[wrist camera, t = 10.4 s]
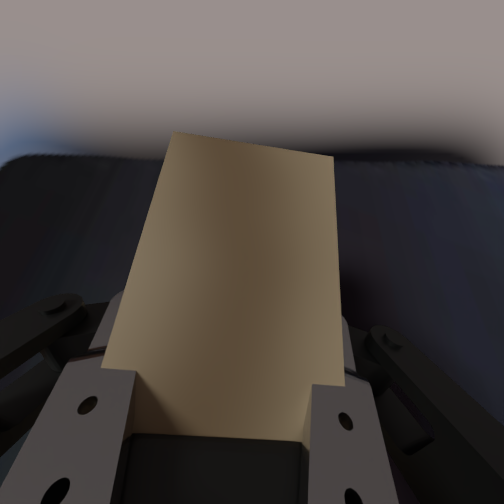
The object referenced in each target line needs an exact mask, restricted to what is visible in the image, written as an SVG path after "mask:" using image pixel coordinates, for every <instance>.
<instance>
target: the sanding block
mask: <svg viewBox="0 0 504 504" xmlns="http://www.w3.org/2000/svg"><path fill="white" fill-rule="evenodd" d="M101 368H108V369H121V370H134V371H136V392H135V418H134V424H133V430H132V433H147V434H166V435H184V436H203V437H222V438H240V439H259V440H278V441H294V442H302V440H303V426H304V421H305V416H306V411H307V406H308V401H309V396H310V391H311V386H312V384H319V385H332V386H345V377H344V358H343V338H342V319H341V299H340V280H339V261H338V241H337V222H336V202H335V183H334V163H333V157H330V156H323V155H318V154H311V153H305V152H299V151H293V150H287V149H280V148H274V147H268V146H261V145H255V144H249V143H243V142H236V141H231V140H224V139H218V138H212V137H206V136H200V135H193V134H187V133H181V132H173V135H172V137H171V141H170V144H169V147H168V151H167V154H166V157H165V160H164V163H163V167H162V170H161V173H160V176H159V180H158V183H157V186H156V189H155V193H154V196H153V199H152V202H151V206H150V209H149V212H148V215H147V219H146V222H145V225H144V228H143V232H142V235H141V238H140V241H139V245H138V248H137V251H136V254H135V258H134V261H133V264H132V267H131V271H130V274H129V277H128V280H127V284H126V287H125V290H124V293H123V297H122V300H121V303H120V306H119V310H118V313H117V316H116V319H115V323H114V326H113V329H112V332H111V336H110V339H109V342H108V345H107V349H106V352H105V355H104V358H103V362H102V365H101Z"/></svg>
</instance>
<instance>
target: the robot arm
mask: <svg viewBox="0 0 504 504" xmlns="http://www.w3.org/2000/svg"><path fill="white" fill-rule="evenodd" d="M123 293H124V291H122V292H120V293H118V294H117V295H116V296H114V297H113V298H112V300H111V301H110V302H104V303H96V304H87V305H85V304H84V301H83V299H82V297H81V296H79V295H77V294H59V295H55V296H51V297H48V298H45V299H43V300H40V301H38V302H36V303H34V304H32V305H30V306H28V307H26V308H24V309H22V310H20V311H18V312H16V313H14V314H12V315H10V316H8V317H7V318H5V319H3V320H1V321H0V379H1V378H3V377H4V376H6V375H7V374H8V373H10V372H11V371H13V370H14V369H16V368H17V367H18V366H20V365H21V364H23V363H24V362H26V361H27V360H28V359H30V358H31V357H33V356H34V355H36V354H37V353H38V352H40V353H41V354H42V356H43V357H44V360H42V361H41V362H40V363H38V364H37V365H36V366H34V367H33V368H32V369H30V370H29V371H28V372H26V373H25V374H24V375H22V376H21V377H20V378H18V379H17V380H16V381H14V382H13V383H12V384H10V385H9V386H8V387H6V388H5V389H3V390H2V391H1V392H0V457H1V456H2V455H3V454H4V453H5V452H6V451H7V450H8V449H9V448H11V447H12V446H13V445H14V444H15V443H16V442H17V441H18V440H19V439H20V438H21V437H22V436H23V435H24V434H25V433H26V432H27V431H28V430H29V429H30V428H31V427H32V426H33V425H34V426H33V428H32V429H31V431H30V433H29V435H28V437H27V439H26V441H25V443H24V444H23V446H22V448H21V450H20V452H19V454H18V456H17V458H16V460H15V461H14V463H13V465H12V467H11V469H10V471H9V473H8V475H7V476H6V478H5V480H4V482H3V484H2V486H1V488H0V504H399V502H398V498H397V494H396V490H395V485H394V481H393V477H392V473H391V469H390V464H389V460H388V456H387V452H386V449H387V451H388V453H389V454H390V456H391V457H392V459H393V461H394V462H395V464H396V465H397V467H398V469H399V470H400V472H401V473H402V475H403V477H404V478H405V480H406V481H407V483H408V484H409V486H410V488H411V489H412V491H413V492H414V494H415V496H416V497H417V499H418V500H419V502H420V504H504V426H503V425H501V424H500V423H499V422H498V421H497V420H496V419H495V418H494V417H493V416H492V415H490V414H489V413H488V412H487V411H486V410H485V409H484V408H483V407H482V406H480V405H479V404H478V403H477V402H476V401H475V400H474V399H473V398H472V397H471V396H469V395H468V394H467V393H466V392H465V391H464V390H463V389H462V388H461V387H459V386H458V385H457V384H456V383H455V382H454V381H453V380H452V379H451V378H450V377H448V376H447V375H446V374H445V373H444V372H443V371H442V370H441V369H440V368H438V367H437V366H436V365H435V364H434V363H433V362H432V361H431V360H430V359H429V358H427V357H426V356H425V355H424V354H423V353H422V352H421V351H420V350H419V349H417V348H416V347H415V346H414V345H413V344H412V343H411V342H410V341H409V340H408V339H406V338H405V337H404V336H403V335H401V334H400V333H399V332H397V331H395V330H393V329H391V328H389V327H386V326H383V325H375V326H373V327H372V328H371V330H370V331H369V332H366V331H363V330H360V329H357V328H354V327H351V326H349V325H347V322H346V320H345V319H344V317H343V316H342V315H341V319H342V338H343V358H344V377H345V386H332V385H319V384H312V386H311V391H310V396H309V401H308V406H307V411H306V416H305V421H304V426H303V440H302V442H294V441H278V440H259V439H240V438H222V437H203V436H184V435H166V434H147V433H132V430H133V424H134V418H135V392H136V371H134V370H121V369H108V368H101V365H102V362H103V358H104V355H105V352H106V349H107V345H108V342H109V339H110V336H111V332H112V329H113V326H114V323H115V319H116V316H117V313H118V310H119V306H120V303H121V300H122V297H123ZM394 382H396V383H397V384H398V386H399V387H400V388H401V389H402V390H403V391H404V393H405V394H406V395H407V396H408V397H409V398H410V400H411V401H412V402H413V403H414V404H415V406H416V407H417V408H418V409H419V410H420V411H421V413H422V414H423V415H424V416H425V417H426V419H427V420H428V421H429V423H430V424H431V426H432V428H433V430H434V433H435V439H433V438H432V437H430V436H429V435H428V434H427V433H426V432H425V431H424V430H423V428H422V427H421V426H420V425H419V423H418V422H417V421H416V420H415V418H414V417H413V416H412V415H411V413H410V412H409V411H408V410H407V408H406V407H405V406H404V405H403V404H402V402H401V401H400V400H399V399H398V397H397V396H396V395H395V394H394V392H393V391H392V390H391V389H390V386H391V385H392V384H393V383H394Z"/></svg>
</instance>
